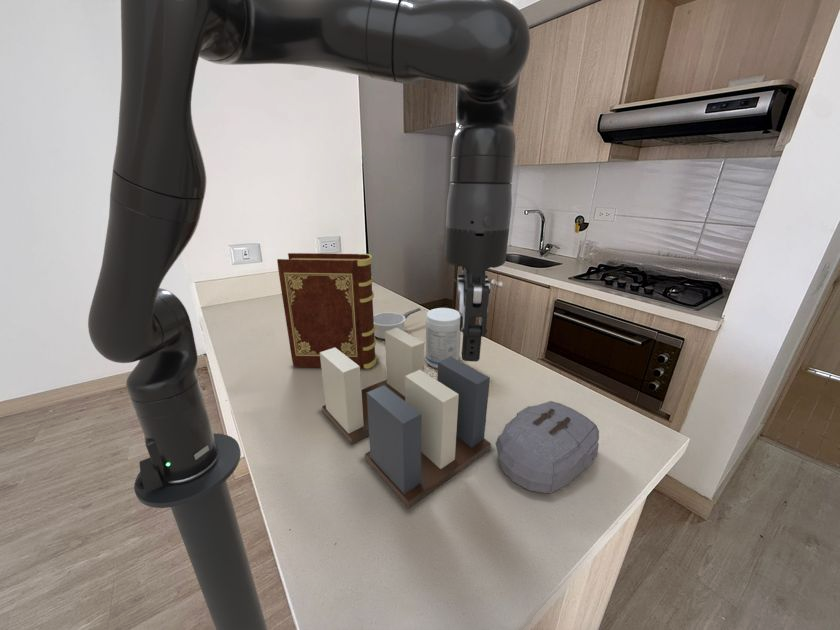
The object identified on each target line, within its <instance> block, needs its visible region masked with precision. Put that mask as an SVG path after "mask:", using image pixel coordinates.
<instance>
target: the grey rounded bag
mask: <svg viewBox="0 0 840 630" xmlns="http://www.w3.org/2000/svg"><path fill="white" fill-rule="evenodd" d="M599 440H600V430H599V428H598V425H597V424H596V423H595V422H594V421H593V420H592V419H590V418H589V417H588V416H586V415H584V414H582V413H581V412H579V411H578V410H575V409H574V408H571V407H569V406H567V405H565V404H562V403H561V402H556V401H552V400H549V401H545V402H542V403H540V404H537V405H530V406H526V407H525V408H523V409H522V410H520V411H518V412H517V413H516V415H515V417H513V418H512V419H511V420H510V421H509V422H507V423H506V424H505V425H504V427H503V430H502V432H501V434H499V436H498V437H497V439H496V441H495V443H494V444H495V448H496V453H497V457H498V462H499V464H500V468H501V470H502V471H503V473H504V474H505V475H506V476H507V477H508V478H509V479H510V480H511V482H513V483H514V484H517V485H519V486H520V487H522V488H524V489H526V490H528V491H530V492H537V493H542V494H543V493H544V494H551V493H553V492H555V491H557V490H559V489H561V488H563V487H564V486H567V485H569V484H570V483H571V482H572V481H574V479H576V478H577V477H578V476H579V475H580V474H581V473H582V472H583V471H584V470H585V469H588V468H589V467H590V466H592V464H594V461H595V460H596V459H597V457H598V451H599Z"/></svg>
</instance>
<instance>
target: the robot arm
mask: <svg viewBox="0 0 840 630" xmlns="http://www.w3.org/2000/svg"><path fill="white" fill-rule="evenodd" d="M120 33H121V34H120V35H121V37H120V38H121V79H120V81H121V83H120V97H119V98H120V99H119V111H118V125H117V126H118V127H117V137H116V146H115V154H114V157H113V158H114V159H113V163H112V164H113V165H112V173H111V174H112V175H111V184H110V193H109V210H108V219H107V220H108V221H107V227H106V234H105V242H104V249H103V254H102V261H101V266H100V270H99V275H98V279H97V282H96V286H95V289H94V294H93V297H92V301H91V304H90V308H89V313H88V318H87V319H88V320H87V328H88V335H89V338H90V341H91V344H92V345H93V347H94V348H95V350H96V351H97V352H98V353H99V354H100V355H101V356H102V357H103V358H105V359H106V360H108V361H111V362H114V363H119V364H129V363H135V362H138V363H137V364H136V366H135V367H134V368H133V369H132V371H131V372H130V373H129V374H128V376H127V378H126V381H125V387H126V390H127V393H128V396H129V398H130V401H131V403H132V407H133V409H134V412H135V414H136V417H137V420H138V422H139V425H140V428H141V430H142V434H143V435H144V443H145V448H146V450H147V452H148V455H149V457H148V458H145V459H142V460H140V461H139V462H138V463H139V472H140V474H141V476H140V477H139V479H138V480H137V482H136V487H137V488H138V489H141V490H145V491H146V493H148V492H150V491H152V490H155V489H157V488H159V487H162V488H164V487H166V486H169V485H181V484H186V483H189V482H192V481H194V480H196V479H198V478H200V477H202V476H203V475H205V474H206V473H207V472H209V471H210V470H211V469H212V468H213V467H214V466H215V464H216V463H217V461H218V459H219V451H218V448H217V445H216V442H215V439H214V435H213V434H214V432H213V431H214V430H213V428H212V424H211V421H210V417H209V414H208V410H207V407H206V404H205V403H206V402H205V399H204V396H203V392H202V388H201V385H200V381H199V377H198V373H197V366H198V363H199V356H198V351H197V346H196V345H197V344H196V341H195V336H194V335H195V334H194V331H193V326H192V322H191V319H190V315H189V312H188V311H187V308H186V307H185V305H184V304H183V302H182V301H181V299H180V298H179V297H178V296H177V295H175V294H174V293H173V292H172V291H170V290H167V289H165V288H161V285H162V283H163V281H164V280H165V277H166V276H167V275H168V272H169V271H170V269H172V267H173V266H174V264H175V263H176V261H177V260H178V259H179V257H180V256H181V255H182V253H183V252H184V251H185V249H186V247H188V245H189V243H190V242H191V240H192V238H193V237H194V235H195V233H196V231H197V228H198V225H199V223H200V219H201V214H202V209H203V205H204V200H205V196H206V191H207V183H208V181H207V170H206V167H205V162H204V158H203V154H202V150H201V147H200V144H199V141H198V138H197V134H196V130H195V127H194V121H193V115H192V97H193V89H194V83H195V77H196V70H197V66H198V61H199V58H201V59H202V60H204V61H207V62H209V63H212V64H216V65H223V66H226V65H227V66H235V65H236V66H241V65H291V66H294V65H295V66H304V67H312V68H318V69H323V70H331V71H336V72H340V73H346V74H350V75H355V76H359V77H364V78H365V77H366V78H370V79H376V80H381V81H385V82H386V81H387V82H393V83H397V84H398V83H399V84H404V85H418V84H421V83H423V82H424V81H425V80H427V81H432V82H433V81H434V82H440V83H447V84H454V85H455V86H456V93H455V94H456V97H455V104H456V105H455V132H454V134H453V138H452V143H451V154H450V173H449V174H450V175H449V182H450V183H449V187H448V188H449V189H448V193H447V195H448V196H447V199H446V200H447V201H446V215H445V237H444V238H445V239H444V241H445V242H444V260H445V261H446V263H448V264H449V265H452V266H455V267H457V268H458V267H461V273H457V277H456V279H457V281H456V287H457V299H459V301H458V312H459V314H460V331H461V334H462V343H461V344H462V345H461V360H462V361H464V362H475V363H476V362H479V360H480V358H481V349H482V348H481V346H482V338H485V337H486V334H487V333H488V330H487V324H488V323H487V321H488V313H489V297H490V294H491V280H489V275H488V274H486V272H487V270H488V269H490V268H493V269H495V268H499V267H502V266H503V265H504V264H505V263H506V261H507V251H508V243H509V235H510V225H511V217H512V207H513V206H512V205H513V197H512V196H513V195H512V185H513V184H512V183H513V177H514V176H513V175H514V165H515V157H516V134H515V130H514V123H515V115H516V106H517V97H518V90H519V83H520V77H521V73H522V71H523V69H524V67H525V64H526V62H527V59H528V56H529V53H530V48H531V32H530V27H529V23H528V21H527V19H526V17H525V15H524V14H523V13H522V11H521V10H520V9H519V8H518V7H517V6H516V5H514V4H512V3H511V2H509V1H507V0H120ZM477 318H478V324H476V319H477Z"/></svg>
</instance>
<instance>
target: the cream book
mask: <svg viewBox="0 0 840 630" xmlns="http://www.w3.org/2000/svg"><path fill="white" fill-rule="evenodd" d="M458 398H459V394H458V393H456V392H454V391H453V390H451V389H450V388H448V387H447V386H445V385H443V384H442V383H440V382H439V381H437V379H435V378H434V377H433V376H431V375H429V374H427V373H426V372H425V371H424V372H423V371H421V370H418V371H416V372H413V373H411V374H409V375H406V376H405V402H407V403H408V404H409V405H410V406H412V407H413V408H414V409H416V410H417V411H418V412H419V413H421V452H422V453H423V454H424V455H425V456H427V457H428V458H429V459H430V460H431V461H432V462H433V463H434V464H435V465H437V466H438V467H439V468H440V469H442V468H443V467H445V466H446V465H448V464H449V463H451V462H452V461H453V460H455V448H456V432H457V415H458Z"/></svg>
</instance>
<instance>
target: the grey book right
mask: <svg viewBox="0 0 840 630" xmlns="http://www.w3.org/2000/svg"><path fill="white" fill-rule="evenodd" d="M436 378H437V379H436V380H437V381H439V382H440V383H442V384H443V385H445V386H447V387H448V388H450V389H451V390H453V391H454V392H456V393H458V394H459V398H458V415H457V432H456V436H457V437H458V438H460V439H461V440H462V441H464V442H465V443H466V444H468V445H469V446H470V447H474V446H475V445H477V444H478V443H479V442H481V441H482V440H484V439H485V434H486V433H485V432H486V422H487V415H488V414H487V413H488V404H489V403H488V402H489V393H490V382H491V377H490V376H489V375H486V374H485V373H482V372H480V371H479V370H477V369H476V368H473V367H471V366H469V365H468V364H466V363H464V362H463V361H460V360H459V361H458V360H456V359H455V358H453V357H448V358H446V359H444V360H441V361H439V362H438V368H437V377H436Z"/></svg>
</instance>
